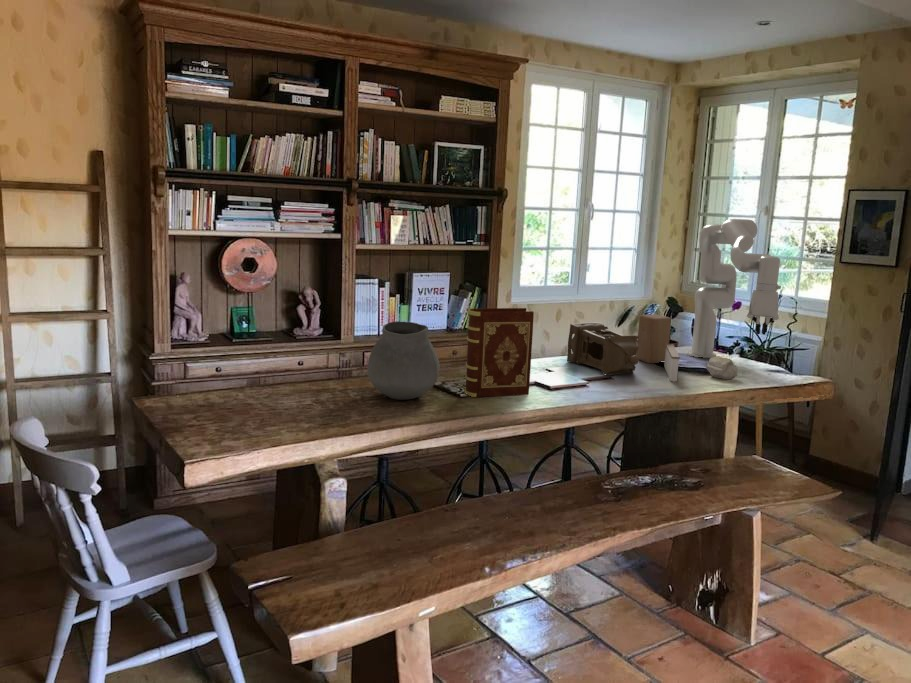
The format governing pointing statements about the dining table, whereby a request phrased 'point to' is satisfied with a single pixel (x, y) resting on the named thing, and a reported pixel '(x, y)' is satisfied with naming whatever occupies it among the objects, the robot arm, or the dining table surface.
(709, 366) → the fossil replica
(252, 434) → the dining table surface
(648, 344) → the wooden block
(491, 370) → the decorative book
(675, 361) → the grey board
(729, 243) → the robot arm
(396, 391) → the ceramic pot
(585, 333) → the brown machine part
